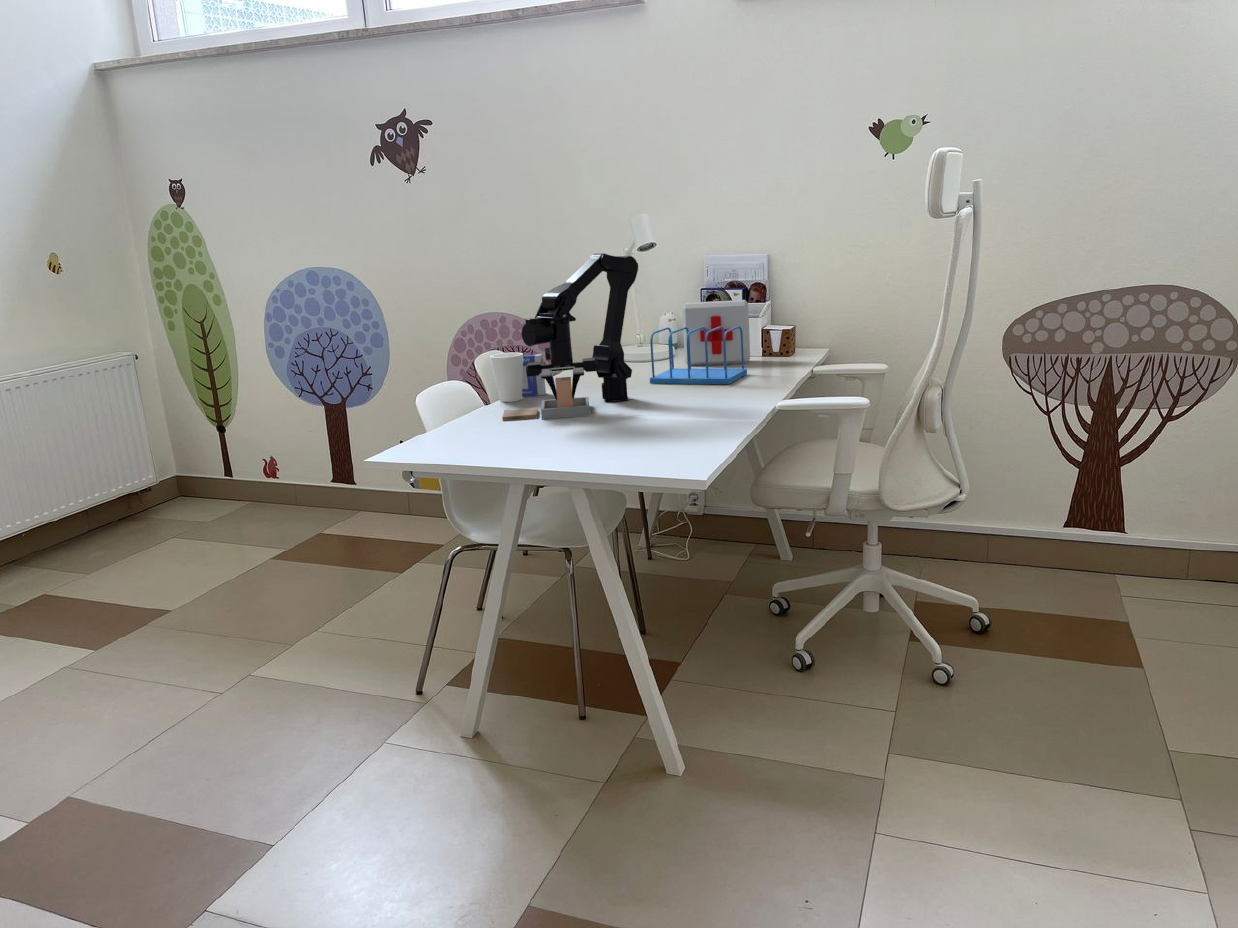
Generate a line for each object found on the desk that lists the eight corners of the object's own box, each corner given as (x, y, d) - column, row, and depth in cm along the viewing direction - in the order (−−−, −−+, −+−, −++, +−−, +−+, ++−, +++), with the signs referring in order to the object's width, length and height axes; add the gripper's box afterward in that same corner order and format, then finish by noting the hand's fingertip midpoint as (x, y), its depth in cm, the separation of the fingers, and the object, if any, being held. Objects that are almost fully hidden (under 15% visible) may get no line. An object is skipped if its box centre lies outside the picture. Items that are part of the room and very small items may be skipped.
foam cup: (521, 402, 267) (516, 357, 263) (490, 403, 269) (485, 358, 265) (530, 395, 276) (526, 351, 272) (500, 396, 278) (496, 353, 274)
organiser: (589, 405, 256) (588, 396, 255) (590, 415, 244) (589, 405, 243) (542, 409, 255) (542, 400, 255) (541, 419, 243) (540, 409, 243)
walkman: (518, 396, 276) (514, 355, 273) (520, 394, 279) (516, 354, 276) (544, 395, 275) (541, 354, 272) (546, 393, 278) (542, 353, 275)
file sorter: (747, 374, 286) (745, 324, 282) (728, 385, 271) (726, 332, 267) (671, 373, 297) (668, 325, 293) (649, 384, 282) (646, 333, 278)
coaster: (538, 411, 254) (537, 407, 253) (537, 418, 245) (536, 414, 245) (504, 413, 253) (504, 410, 253) (502, 420, 245) (502, 417, 244)
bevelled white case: (684, 367, 306) (681, 305, 301) (686, 363, 314) (683, 302, 309) (749, 364, 303) (747, 302, 297) (750, 360, 310) (748, 299, 305)
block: (573, 409, 252) (570, 376, 250) (573, 413, 247) (570, 380, 245) (558, 411, 252) (555, 378, 250) (558, 414, 247) (555, 381, 245)
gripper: (594, 334, 253) (598, 391, 257) (525, 339, 252) (530, 396, 256) (596, 339, 242) (600, 398, 246) (523, 344, 241) (529, 404, 245)
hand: (564, 399), depth 249 cm, fingers closed on block, 4 cm apart
